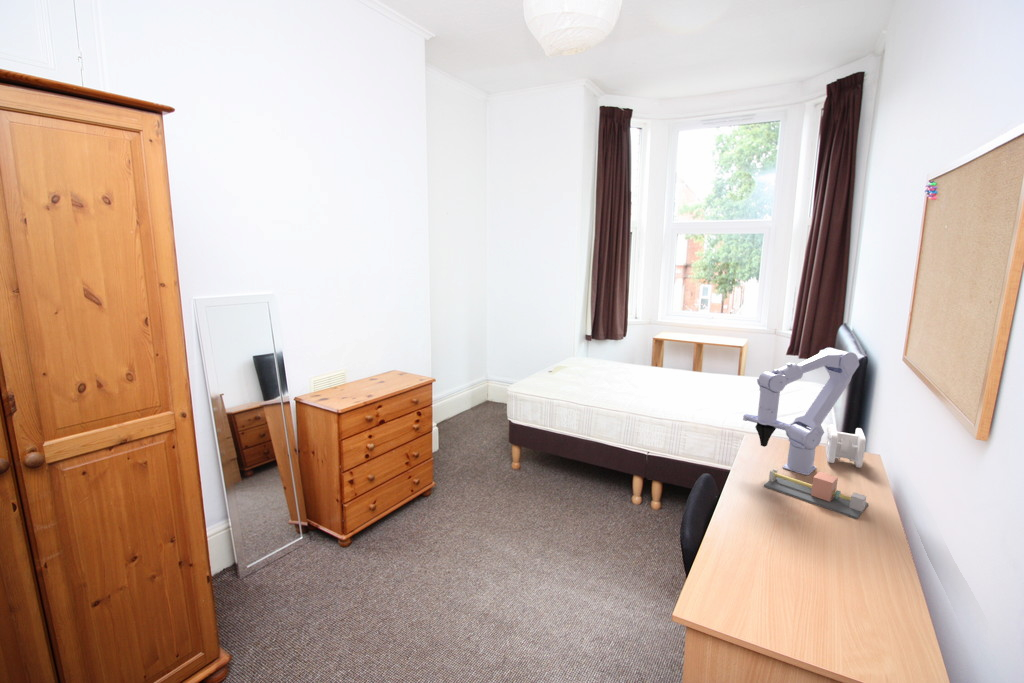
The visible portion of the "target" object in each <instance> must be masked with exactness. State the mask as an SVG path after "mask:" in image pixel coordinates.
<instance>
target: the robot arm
mask: <svg viewBox="0 0 1024 683" xmlns="http://www.w3.org/2000/svg"><path fill="white" fill-rule="evenodd" d="M859 366H860V362H859V358H858V355H857V354H856V353H855V352H852V351H846V350H841V349H838V348H834V347H830V346H829V347H828V346H827V347H826V348H824V349H820V350H819V352H818V353H817V354H815V355H813V356H811V357H809V358H807V359H805V360H804V361H802V362H799V363H798V364H797V363H795V362H787V363H786V364H785V365H783V366H781V367H779V368H775V369H773V370H772V371H768V370H767V371H764V372H762V373H761V374H760V375H759V377H758V378H757V379H756V380H757V385H758V387H759V400H758V409H757V410H758V411H757V415H754V414H748V413H745V414H743V418H742V421H745V422H751V423H756V425H755V430H756V432H757V434H758V437H759V442H760V446H761V447H764V448H765V447H767V446H768V443H769V440H770V439H771V437H772V434H773V433H774V432H775V431H776V429H778V430H781V431H785V435H786V436H787V438H788V441H789V447H788V455H787V462H786V463H785V464H784V465H783V466H782V469H785V470H787V471H791V472H795V473H797V474H798V473H799V474H800V475H804V476H810V475H811V473H813V472H814V471H815V470H816V469H817V466H816V465H815V457H816V456H815V455H816V449H817V447H818V446H819V445H820V443H821V441H822V437H823V435H824V433H825V431H824V428H823V427H822V424H823V422H824V421H825V419H826V418H827V416H828V415H829V413H830V412H831V411H832V409H833V408H834V406H835V404H836V403H837V402H838V400H839V399H840V397H841V396H842V395H843V393H844V391H845V390H846V388H847V387H848V386H849V384H850V382H851V380H852V377H853V375H854V374H855V372H856V371H857V369H858V368H859ZM822 367H824V369H825V370H826V372H827V373H828V375H829V376H828V377H829V378H828V380H827V381H826V383H825V384H824V386H823V387H822V389H821V390H820V392H819V393H818V395H817V396H816V398H815V399H814V401H813V402H812V403H811V404H810V407H809V408H808V410H806V412H805V414H804V415H802V416H799V417H798V416H797V417H796V418H795V419H794V421H792V422H791V423H785V422H783V421H780V420H778V419H777V418H778V410H779V405H780V404H779V403H780V402H779V401H780V394H781V392H782V391H783V390H784V389H785V387H786V386H787V385H789V384H791V383H793V382H796V381H798V380H800V379H802V378H803V377H804V376H803V375H804V374H806V373H808V372H811V371H812V372H813V371H814V370H817V369H820V368H822Z"/></svg>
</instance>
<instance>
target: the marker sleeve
mask: <svg viewBox="0 0 1024 683" xmlns="http://www.w3.org/2000/svg"><path fill="white" fill-rule="evenodd" d="M838 480H839V476H835V475H832V474H828V473H826V472H822V471H818V472H817V473H816V474H815V475H814V476H813V479H812V483H811V484H812V491H811V496H814V497H817V498H820V499H823V500H826V501H829V502H830V501H831V500H832V499H833V498H834V497H835V496H833V495H832V494H833V492H836V491H837V487H838Z"/></svg>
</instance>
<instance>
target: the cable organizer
mask: <svg viewBox="0 0 1024 683" xmlns="http://www.w3.org/2000/svg"><path fill="white" fill-rule="evenodd" d="M826 432H827V435H826V441H825V455H826V460H827V462H828V463H831V464H834V463H835V461H836V459H837V460H839V461H840V460H841V458H843V459H848V460H849V462H854V465H855V468H862V467H863V464H864V457H865V450H866V444H867V440H866V436H865V433H864V431H863V429H862V428H861V427H856V428H855V432H854V433H848V432H842V431H837V426H836V425H835V424H828V425H827V428H826Z"/></svg>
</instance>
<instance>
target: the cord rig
mask: <svg viewBox="0 0 1024 683" xmlns="http://www.w3.org/2000/svg"><path fill="white" fill-rule="evenodd" d="M768 476H769V477H768V481H767V482H766V483H764V484H763V488H767V489H770V490H772V489H773V490H772V491H776V492H779V493H782V494H784V495H788V496H789V497H793V498H796V499H797V500H798V499H799V500H800V501H801V500H802V501H803V502H806V503H810V504H812V505H815V506H819V507H822V508H824V509H827V510H831V511H833V512H836V513H838V514H841V515H844V516H848V517H850V518H852V519H855V520H858V519H859V517H860V516H861V515H862V514H863V512H864V511H865V510H866V508H867V507H868V506H869V503H868V501H867V496H866V495H865V494H861V493H858V492H856V491H854V492H853V493H852V494H851V495H850V496H848V495H845V494H842V493H841V490H837V489H836V492H833V494H832V495H833V496H835V497H834V498H833V499H832V500H831V501H830V502H829V501H826V500H823V499H820V498H817V497H814V496H811V491H812V484H813V483H808V482H805V481H803V480H799V479H796V478H793V477H790V476H788V475H783V474H780V473H778V469H776V468H772V470H770V471H769V475H768ZM866 501H867V502H866Z"/></svg>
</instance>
